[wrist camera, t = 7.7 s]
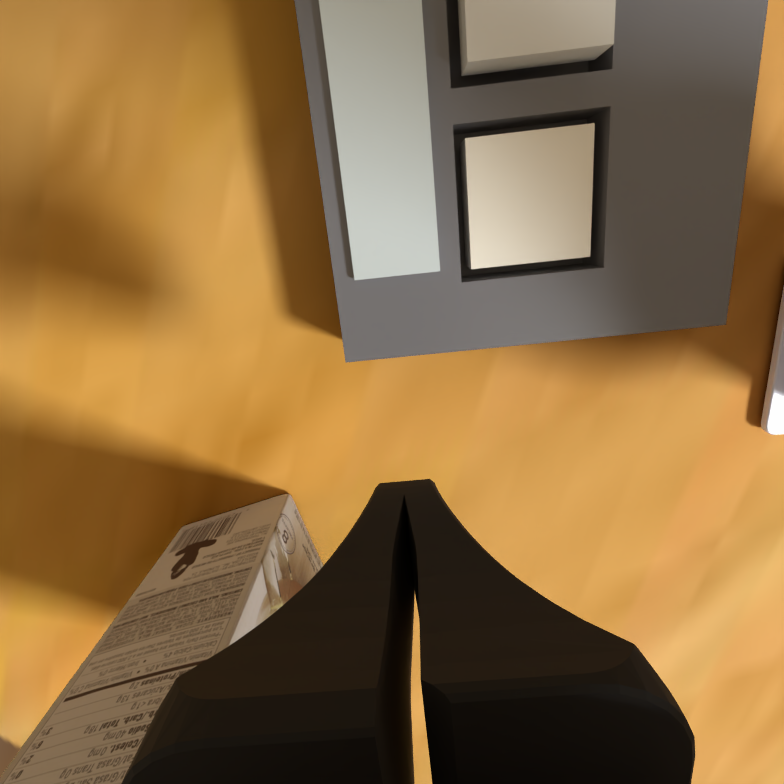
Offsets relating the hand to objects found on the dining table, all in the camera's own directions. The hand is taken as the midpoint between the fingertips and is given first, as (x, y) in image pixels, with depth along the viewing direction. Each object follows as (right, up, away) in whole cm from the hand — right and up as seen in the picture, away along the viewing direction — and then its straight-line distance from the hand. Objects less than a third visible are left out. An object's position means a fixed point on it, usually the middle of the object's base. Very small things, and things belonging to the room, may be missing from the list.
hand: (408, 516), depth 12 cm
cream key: (+4, +10, +6) cm, 12 cm away
